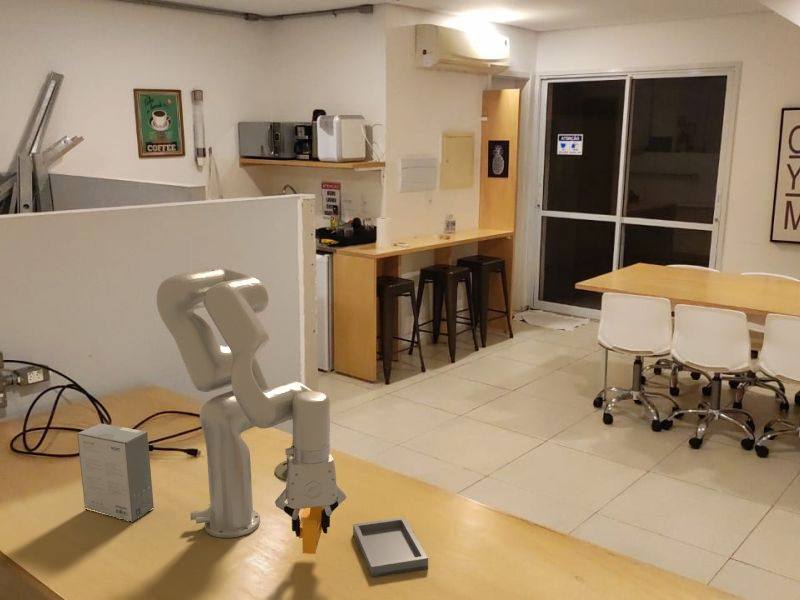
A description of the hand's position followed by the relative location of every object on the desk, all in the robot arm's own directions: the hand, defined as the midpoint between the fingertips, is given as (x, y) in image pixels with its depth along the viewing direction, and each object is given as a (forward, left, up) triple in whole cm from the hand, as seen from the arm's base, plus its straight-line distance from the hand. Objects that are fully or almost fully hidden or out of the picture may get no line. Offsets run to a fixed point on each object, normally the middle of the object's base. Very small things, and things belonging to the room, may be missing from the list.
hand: (310, 530), depth 158 cm
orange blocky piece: (0, 0, -2) cm, 2 cm away
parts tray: (+17, -1, -7) cm, 18 cm away
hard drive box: (-41, +35, -7) cm, 55 cm away
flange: (+5, +45, -8) cm, 46 cm away
